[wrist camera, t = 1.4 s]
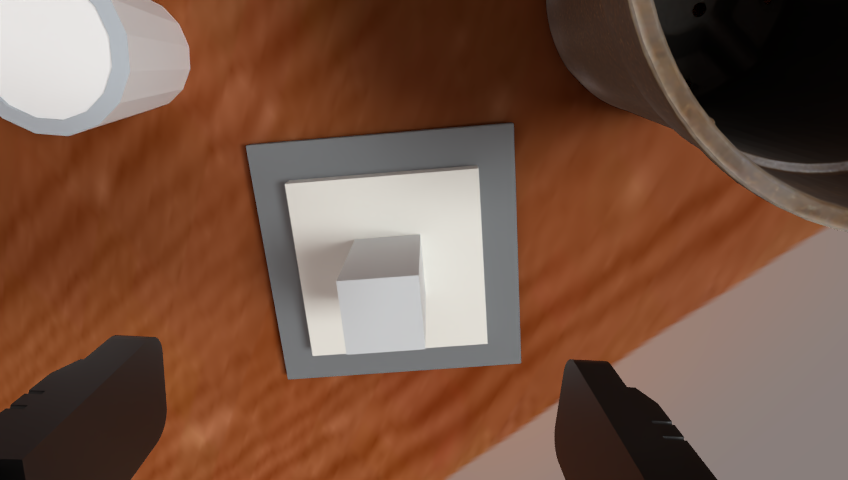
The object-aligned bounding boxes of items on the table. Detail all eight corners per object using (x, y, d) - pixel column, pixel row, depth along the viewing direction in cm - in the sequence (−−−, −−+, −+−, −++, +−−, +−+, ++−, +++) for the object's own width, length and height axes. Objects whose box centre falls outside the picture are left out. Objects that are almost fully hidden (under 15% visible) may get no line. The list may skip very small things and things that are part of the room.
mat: (512, 122, 28) (513, 123, 27) (519, 358, 32) (521, 363, 31) (249, 144, 28) (245, 145, 27) (290, 374, 32) (288, 379, 32)
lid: (476, 165, 28) (492, 193, 21) (485, 335, 31) (502, 407, 24) (289, 180, 28) (246, 212, 21) (316, 347, 31) (285, 422, 24)
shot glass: (125, 146, 28) (31, 167, 21) (38, 26, 26) (-94, 9, 20) (229, 80, 27) (165, 81, 20) (146, -50, 25) (45, -95, 19)
